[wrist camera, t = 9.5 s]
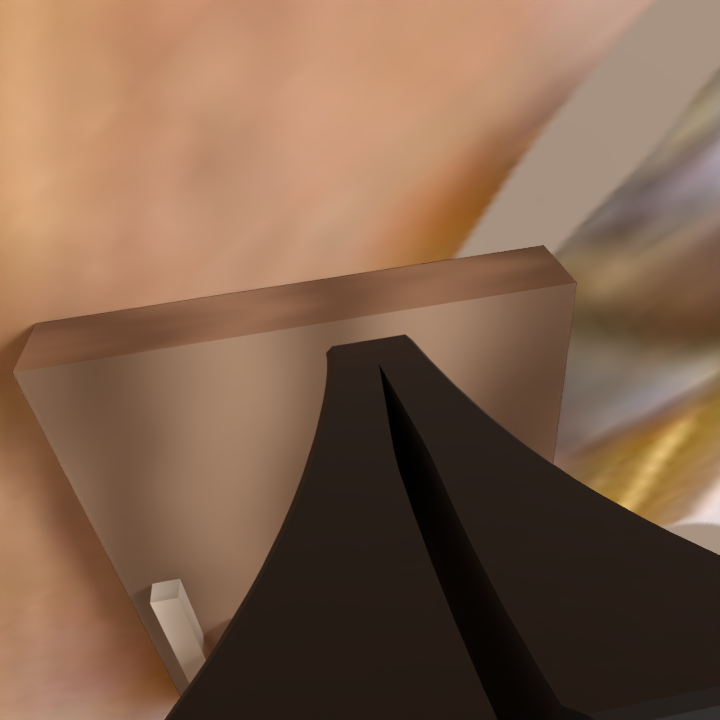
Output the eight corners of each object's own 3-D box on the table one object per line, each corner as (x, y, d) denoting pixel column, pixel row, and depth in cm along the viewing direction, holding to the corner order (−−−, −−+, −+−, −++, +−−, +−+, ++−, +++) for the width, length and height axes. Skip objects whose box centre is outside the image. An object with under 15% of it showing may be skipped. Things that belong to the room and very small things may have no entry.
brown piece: (543, 245, 21) (588, 296, 18) (508, 624, 34) (531, 686, 31) (35, 323, 19) (3, 390, 17) (203, 685, 32) (200, 755, 30)
